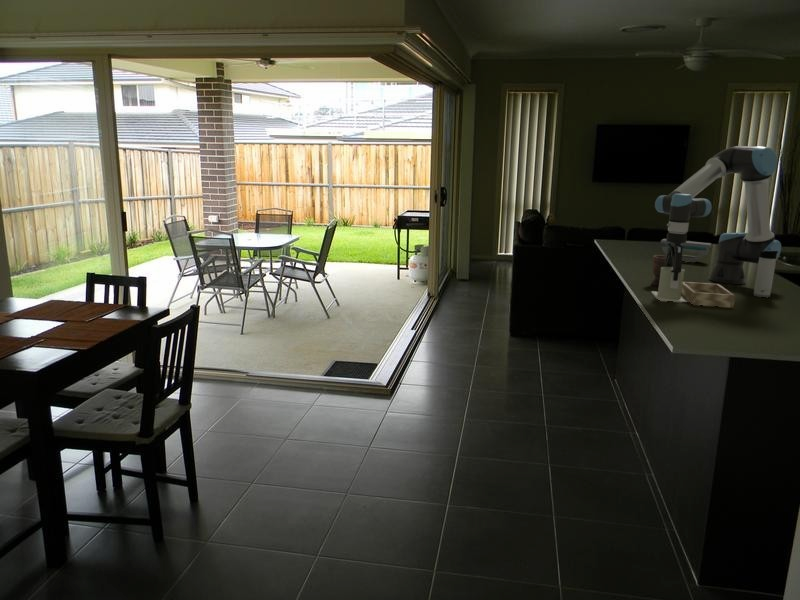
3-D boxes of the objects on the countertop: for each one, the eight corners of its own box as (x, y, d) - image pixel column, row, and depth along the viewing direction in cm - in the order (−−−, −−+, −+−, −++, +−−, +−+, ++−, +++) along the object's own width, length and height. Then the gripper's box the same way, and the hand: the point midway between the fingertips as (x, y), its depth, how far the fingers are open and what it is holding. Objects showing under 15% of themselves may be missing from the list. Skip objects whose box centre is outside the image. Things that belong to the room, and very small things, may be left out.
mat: (678, 294, 275) (678, 293, 275) (687, 302, 260) (687, 301, 260) (651, 292, 277) (651, 291, 277) (658, 300, 262) (658, 299, 262)
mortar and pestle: (676, 285, 295) (682, 241, 291) (677, 288, 287) (683, 243, 283) (649, 282, 299) (654, 239, 294) (649, 286, 291) (655, 241, 286)
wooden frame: (716, 295, 276) (718, 284, 275) (733, 307, 254) (735, 295, 253) (678, 292, 278) (680, 281, 277) (691, 304, 257) (693, 292, 256)
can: (683, 299, 263) (687, 270, 260) (659, 297, 265) (663, 268, 262) (678, 294, 272) (682, 266, 269) (655, 293, 274) (658, 265, 271)
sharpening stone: (708, 262, 360) (711, 243, 357) (706, 264, 354) (709, 244, 351) (661, 257, 373) (664, 238, 371) (658, 259, 367) (661, 240, 364)
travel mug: (764, 298, 273) (772, 251, 268) (750, 295, 278) (757, 249, 274) (773, 297, 276) (781, 250, 271) (759, 294, 281) (766, 248, 277)
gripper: (661, 228, 274) (655, 279, 279) (674, 235, 252) (666, 290, 257) (680, 229, 273) (673, 280, 278) (694, 236, 250) (686, 291, 256)
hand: (670, 285), depth 267 cm, fingers open, 11 cm apart
